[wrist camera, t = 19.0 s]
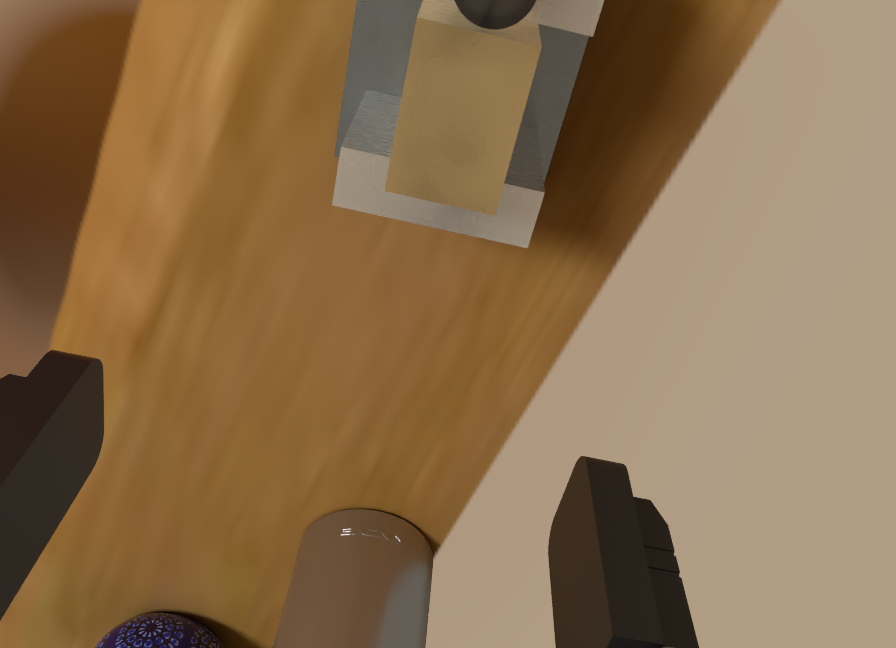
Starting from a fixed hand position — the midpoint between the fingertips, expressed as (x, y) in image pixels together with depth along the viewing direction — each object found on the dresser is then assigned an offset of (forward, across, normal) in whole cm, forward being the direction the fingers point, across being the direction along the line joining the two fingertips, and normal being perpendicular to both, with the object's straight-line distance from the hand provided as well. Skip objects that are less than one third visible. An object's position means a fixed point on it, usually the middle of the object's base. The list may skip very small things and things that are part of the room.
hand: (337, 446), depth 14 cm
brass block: (+26, -2, -1) cm, 26 cm away
